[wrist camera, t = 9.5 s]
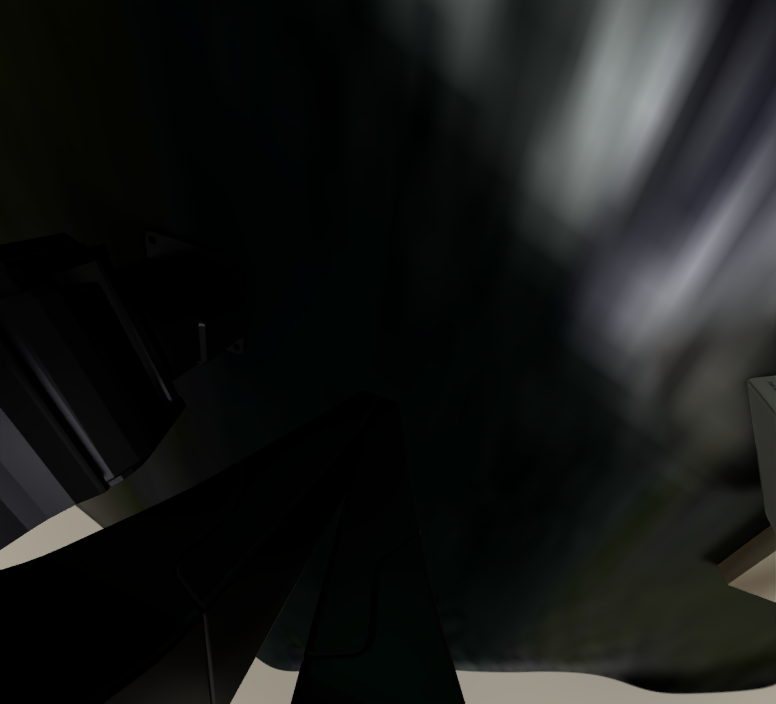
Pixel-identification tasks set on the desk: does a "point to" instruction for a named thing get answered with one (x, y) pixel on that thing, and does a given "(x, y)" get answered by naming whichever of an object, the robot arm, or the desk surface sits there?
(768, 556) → the birch board
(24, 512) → the robot arm
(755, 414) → the ink box
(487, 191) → the desk surface
